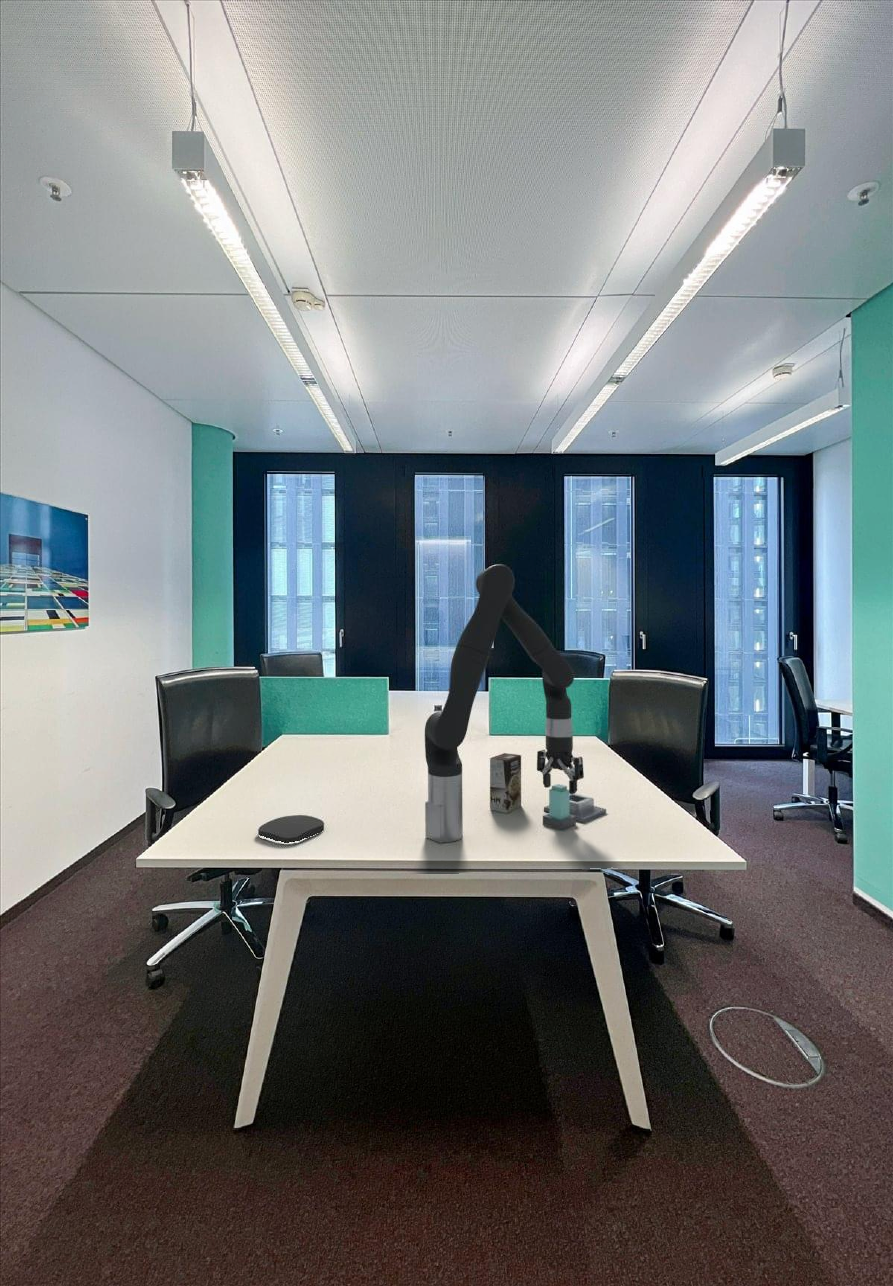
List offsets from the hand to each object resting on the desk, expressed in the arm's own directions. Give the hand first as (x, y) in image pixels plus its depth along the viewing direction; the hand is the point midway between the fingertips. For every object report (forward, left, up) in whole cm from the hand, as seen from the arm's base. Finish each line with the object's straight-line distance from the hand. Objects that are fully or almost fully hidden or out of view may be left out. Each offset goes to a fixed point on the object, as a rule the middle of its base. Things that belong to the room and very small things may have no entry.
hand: (559, 790), depth 152 cm
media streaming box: (-58, +47, -10) cm, 76 cm away
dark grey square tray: (0, 0, -10) cm, 10 cm away
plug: (0, 0, -10) cm, 10 cm away
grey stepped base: (+12, +3, -10) cm, 16 cm away
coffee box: (0, +20, -10) cm, 22 cm away
